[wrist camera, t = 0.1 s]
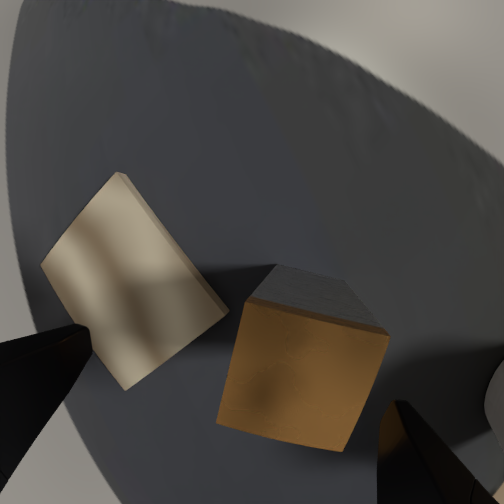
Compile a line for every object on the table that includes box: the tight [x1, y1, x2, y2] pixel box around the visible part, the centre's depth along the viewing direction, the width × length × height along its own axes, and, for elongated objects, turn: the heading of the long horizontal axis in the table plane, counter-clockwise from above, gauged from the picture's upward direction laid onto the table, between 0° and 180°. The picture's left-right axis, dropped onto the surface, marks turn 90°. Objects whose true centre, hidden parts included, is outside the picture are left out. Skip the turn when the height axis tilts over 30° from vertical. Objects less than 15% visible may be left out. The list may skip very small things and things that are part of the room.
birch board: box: [41, 172, 230, 391], centre depth 24 cm, size 12×14×2 cm
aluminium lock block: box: [216, 264, 391, 452], centre depth 17 cm, size 5×5×13 cm
